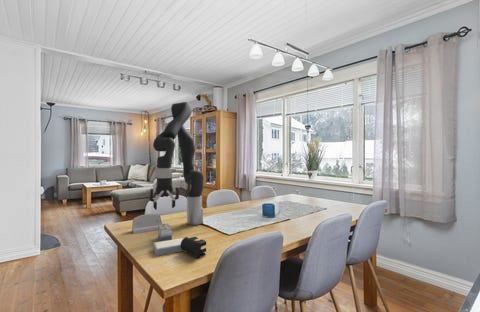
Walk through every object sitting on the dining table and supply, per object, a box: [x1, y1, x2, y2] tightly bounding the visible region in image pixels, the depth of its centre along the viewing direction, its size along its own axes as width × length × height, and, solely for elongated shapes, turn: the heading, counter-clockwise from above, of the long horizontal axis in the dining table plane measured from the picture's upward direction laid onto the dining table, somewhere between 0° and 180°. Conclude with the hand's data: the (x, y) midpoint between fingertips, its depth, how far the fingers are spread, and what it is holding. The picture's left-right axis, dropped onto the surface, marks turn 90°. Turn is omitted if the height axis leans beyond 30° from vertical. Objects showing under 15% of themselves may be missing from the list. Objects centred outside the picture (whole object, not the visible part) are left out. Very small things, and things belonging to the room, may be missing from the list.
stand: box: [152, 237, 184, 257], centre depth 116 cm, size 14×9×3 cm, turn 117°
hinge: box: [131, 213, 163, 235], centre depth 145 cm, size 17×5×10 cm, turn 122°
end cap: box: [181, 236, 207, 259], centre depth 110 cm, size 10×7×7 cm
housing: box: [157, 223, 173, 242], centre depth 128 cm, size 5×10×8 cm, turn 27°
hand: (164, 208), depth 128 cm, fingers open, 8 cm apart
